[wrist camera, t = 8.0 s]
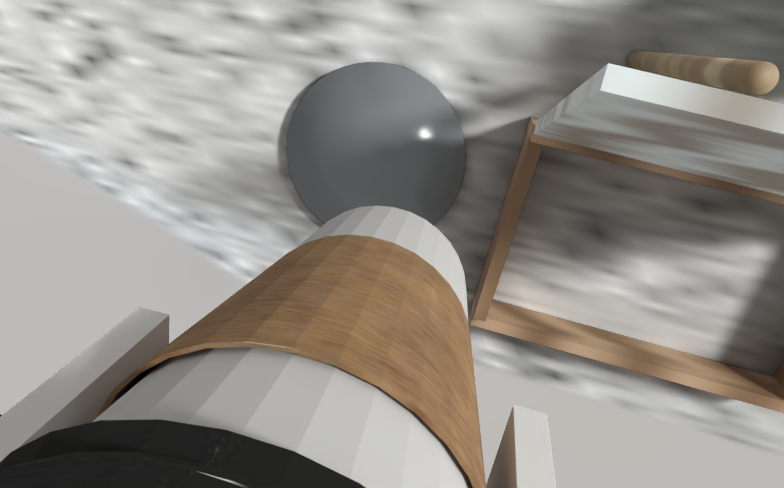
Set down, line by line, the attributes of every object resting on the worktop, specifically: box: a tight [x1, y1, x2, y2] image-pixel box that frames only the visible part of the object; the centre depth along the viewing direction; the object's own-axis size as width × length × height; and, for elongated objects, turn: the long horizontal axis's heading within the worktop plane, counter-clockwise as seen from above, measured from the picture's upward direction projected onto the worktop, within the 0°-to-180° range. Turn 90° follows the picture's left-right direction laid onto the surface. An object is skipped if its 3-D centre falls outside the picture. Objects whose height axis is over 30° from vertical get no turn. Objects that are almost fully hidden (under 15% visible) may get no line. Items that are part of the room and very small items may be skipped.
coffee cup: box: [0, 206, 486, 488], centre depth 12 cm, size 8×8×15 cm
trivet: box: [286, 62, 466, 225], centre depth 36 cm, size 12×12×1 cm
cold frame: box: [470, 50, 784, 413], centre depth 26 cm, size 22×19×18 cm
